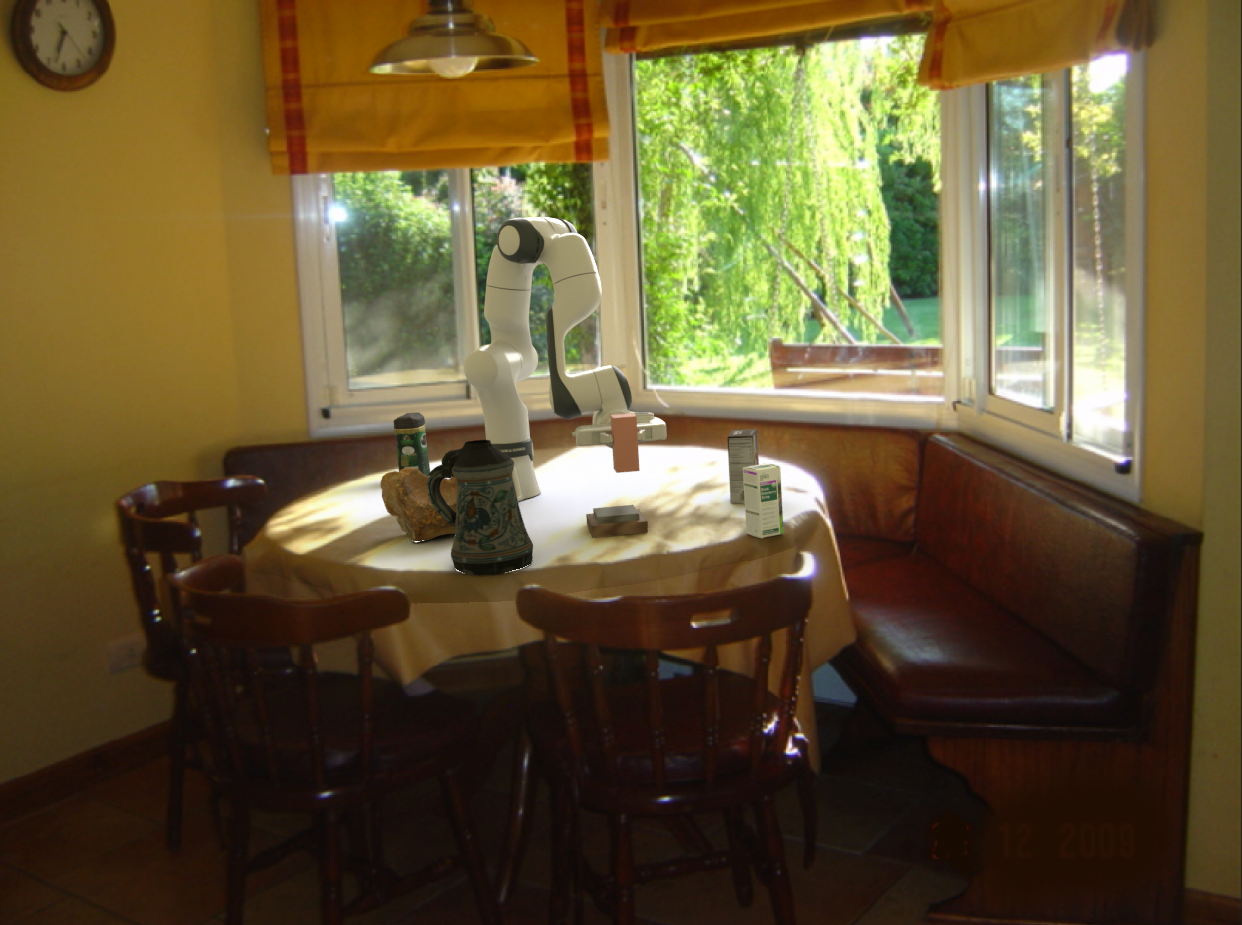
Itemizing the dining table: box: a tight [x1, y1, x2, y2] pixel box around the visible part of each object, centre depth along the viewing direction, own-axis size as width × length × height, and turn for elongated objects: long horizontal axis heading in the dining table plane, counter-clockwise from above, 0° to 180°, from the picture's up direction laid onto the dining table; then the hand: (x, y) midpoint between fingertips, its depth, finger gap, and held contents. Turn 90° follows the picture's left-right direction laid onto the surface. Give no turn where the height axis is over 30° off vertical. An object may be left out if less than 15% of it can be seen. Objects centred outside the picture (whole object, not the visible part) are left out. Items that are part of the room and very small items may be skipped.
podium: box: [585, 504, 649, 538], centre depth 260 cm, size 12×12×4 cm
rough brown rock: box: [379, 467, 457, 541], centre depth 263 cm, size 23×17×15 cm
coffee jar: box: [393, 412, 431, 477], centre depth 331 cm, size 10×8×19 cm
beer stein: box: [427, 439, 534, 577], centre depth 235 cm, size 16×19×25 cm
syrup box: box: [743, 462, 784, 539], centre depth 247 cm, size 6×6×14 cm
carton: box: [611, 413, 640, 474], centre depth 259 cm, size 5×5×12 cm
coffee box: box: [726, 428, 760, 504], centre depth 280 cm, size 9×6×16 cm
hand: (625, 438), depth 258 cm, fingers closed on carton, 5 cm apart
